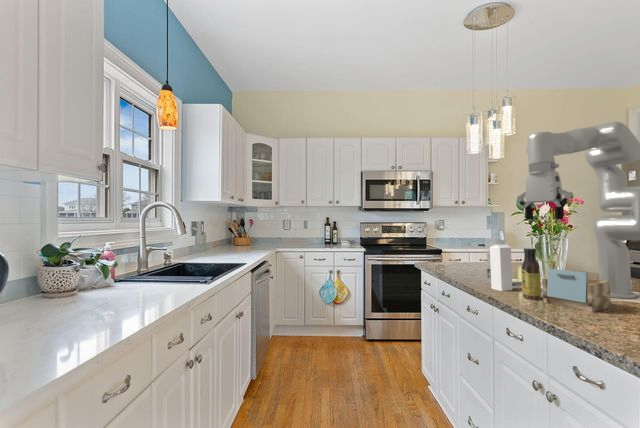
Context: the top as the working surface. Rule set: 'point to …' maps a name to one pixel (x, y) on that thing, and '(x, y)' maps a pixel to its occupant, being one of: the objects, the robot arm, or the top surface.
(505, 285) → the milk
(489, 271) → the coffee box
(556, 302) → the cabinet
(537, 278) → the sauce bottle
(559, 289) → the door
